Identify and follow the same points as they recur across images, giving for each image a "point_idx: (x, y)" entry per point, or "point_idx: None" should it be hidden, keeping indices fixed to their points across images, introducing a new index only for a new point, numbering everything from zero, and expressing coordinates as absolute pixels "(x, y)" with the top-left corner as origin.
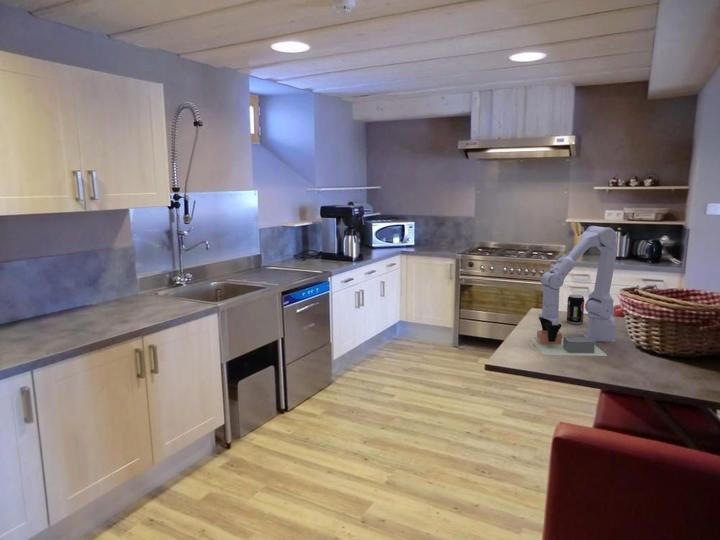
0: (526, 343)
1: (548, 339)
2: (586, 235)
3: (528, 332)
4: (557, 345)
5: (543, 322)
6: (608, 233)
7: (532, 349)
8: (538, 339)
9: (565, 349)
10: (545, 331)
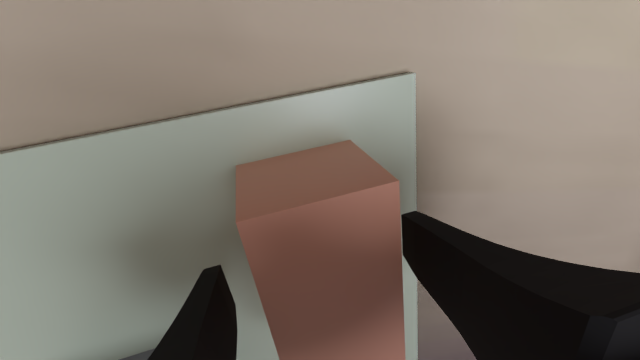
0: (250, 21)
1: (210, 275)
2: None
3: (596, 74)
4: None
5: (517, 312)
6: None
7: (9, 79)
8: (293, 163)
9: (127, 358)
10: (359, 272)
